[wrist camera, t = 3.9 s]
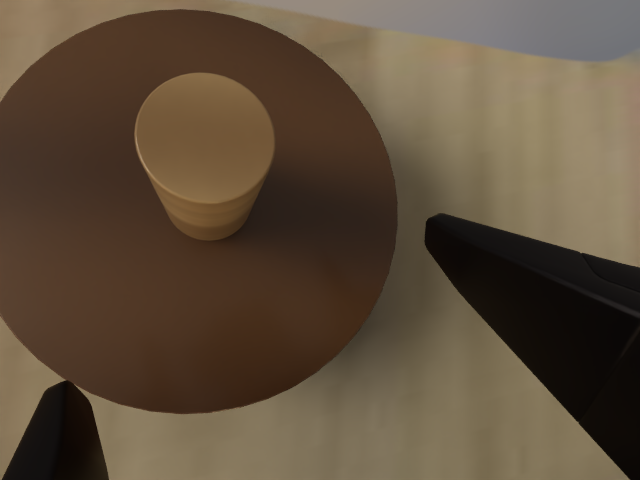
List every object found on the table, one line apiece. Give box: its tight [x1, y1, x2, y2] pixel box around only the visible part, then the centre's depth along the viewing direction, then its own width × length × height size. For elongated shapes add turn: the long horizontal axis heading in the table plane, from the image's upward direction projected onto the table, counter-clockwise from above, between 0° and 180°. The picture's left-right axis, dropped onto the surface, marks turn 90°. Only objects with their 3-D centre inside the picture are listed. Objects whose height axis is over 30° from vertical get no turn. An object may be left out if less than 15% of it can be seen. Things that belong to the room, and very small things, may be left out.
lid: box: [0, 9, 397, 414], centre depth 13 cm, size 15×15×7 cm
